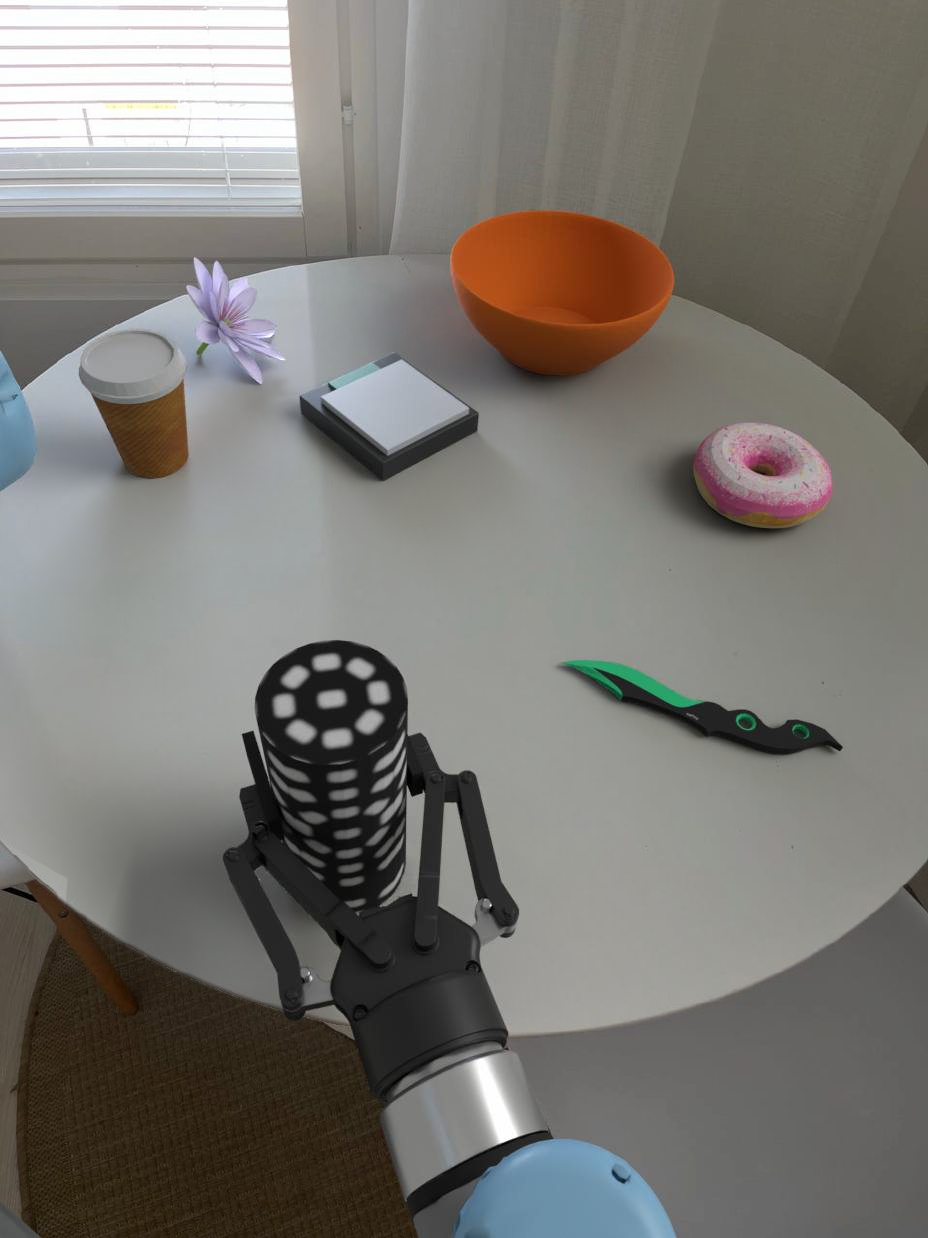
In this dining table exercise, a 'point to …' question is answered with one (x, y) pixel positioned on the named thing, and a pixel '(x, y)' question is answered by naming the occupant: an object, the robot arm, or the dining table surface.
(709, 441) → the donut
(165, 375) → the disposable coffee cup
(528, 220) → the bowl
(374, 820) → the white-spotted black cylinder
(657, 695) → the knife
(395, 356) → the scale
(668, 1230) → the robot arm
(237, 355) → the water lily
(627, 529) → the dining table surface
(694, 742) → the dining table surface
